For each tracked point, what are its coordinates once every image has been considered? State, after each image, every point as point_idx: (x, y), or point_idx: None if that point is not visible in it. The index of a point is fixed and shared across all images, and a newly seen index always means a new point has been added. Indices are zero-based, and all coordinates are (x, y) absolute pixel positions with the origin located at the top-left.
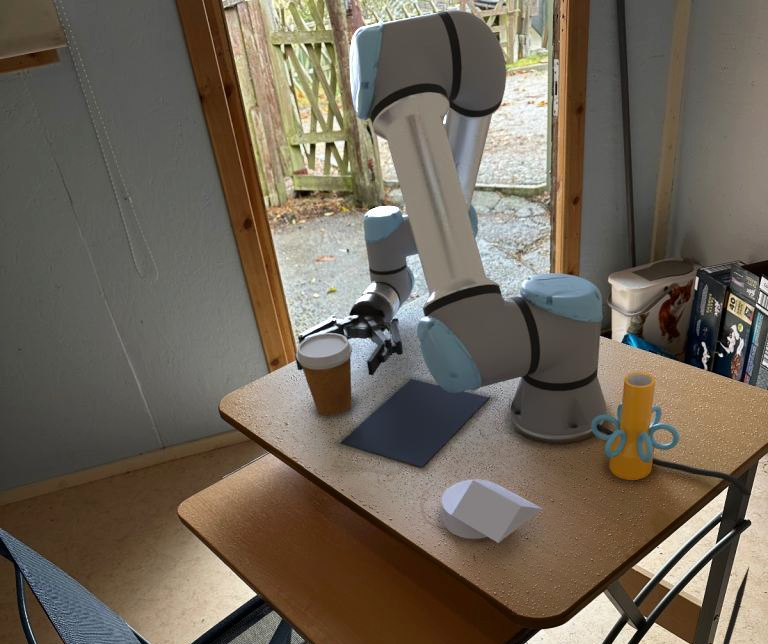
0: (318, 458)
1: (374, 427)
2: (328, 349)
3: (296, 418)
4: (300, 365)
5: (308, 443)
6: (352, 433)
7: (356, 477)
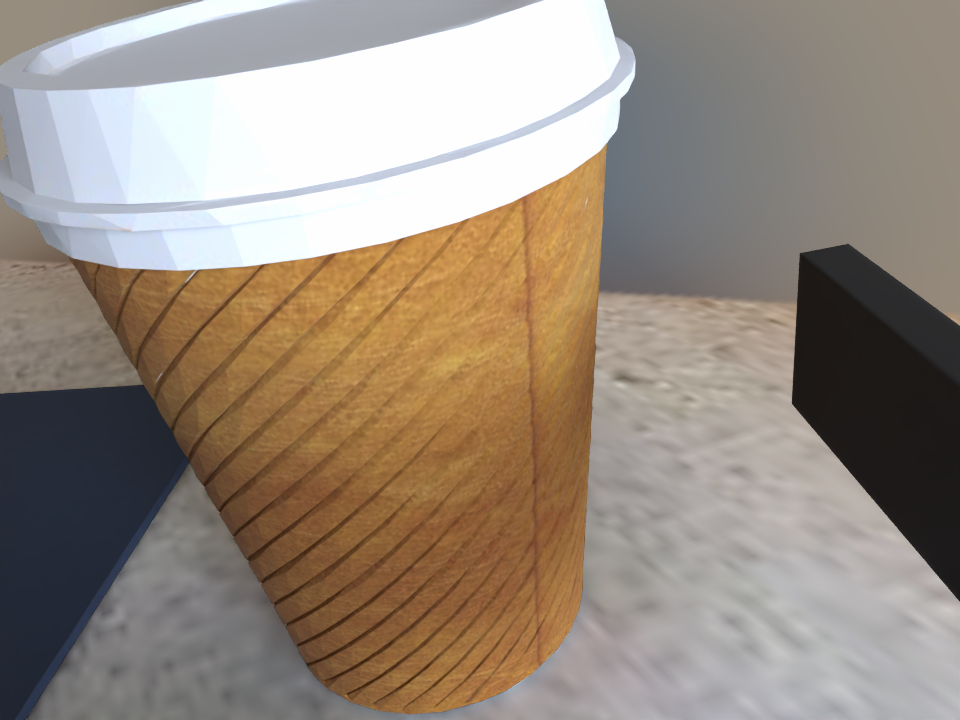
0: None
1: (58, 508)
2: (228, 37)
3: (611, 423)
4: (796, 353)
5: None
6: None
7: None
